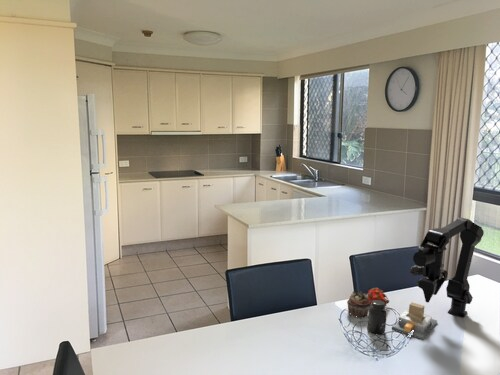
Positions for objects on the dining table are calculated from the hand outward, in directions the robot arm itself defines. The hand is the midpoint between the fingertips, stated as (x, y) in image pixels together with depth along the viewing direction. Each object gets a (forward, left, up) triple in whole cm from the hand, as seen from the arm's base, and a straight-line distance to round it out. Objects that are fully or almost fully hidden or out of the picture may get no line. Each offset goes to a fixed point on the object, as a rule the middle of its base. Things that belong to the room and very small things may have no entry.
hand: (430, 298), depth 172 cm
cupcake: (+11, -26, -12) cm, 30 cm away
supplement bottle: (+20, -14, -12) cm, 27 cm away
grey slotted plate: (+5, -4, -12) cm, 13 cm away
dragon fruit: (-2, -23, -12) cm, 26 cm away
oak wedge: (+5, -4, -11) cm, 12 cm away
